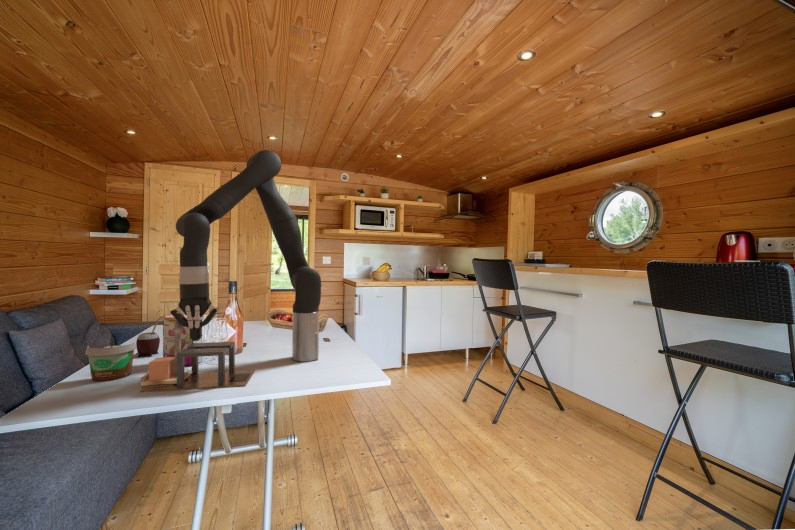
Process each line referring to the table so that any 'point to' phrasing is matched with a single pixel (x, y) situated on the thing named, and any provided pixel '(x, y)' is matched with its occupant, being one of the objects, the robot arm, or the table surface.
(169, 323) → the candy bar box
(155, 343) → the mate gourd
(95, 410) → the table surface
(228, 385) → the tunnel
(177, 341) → the sled
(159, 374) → the block
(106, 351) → the food container
